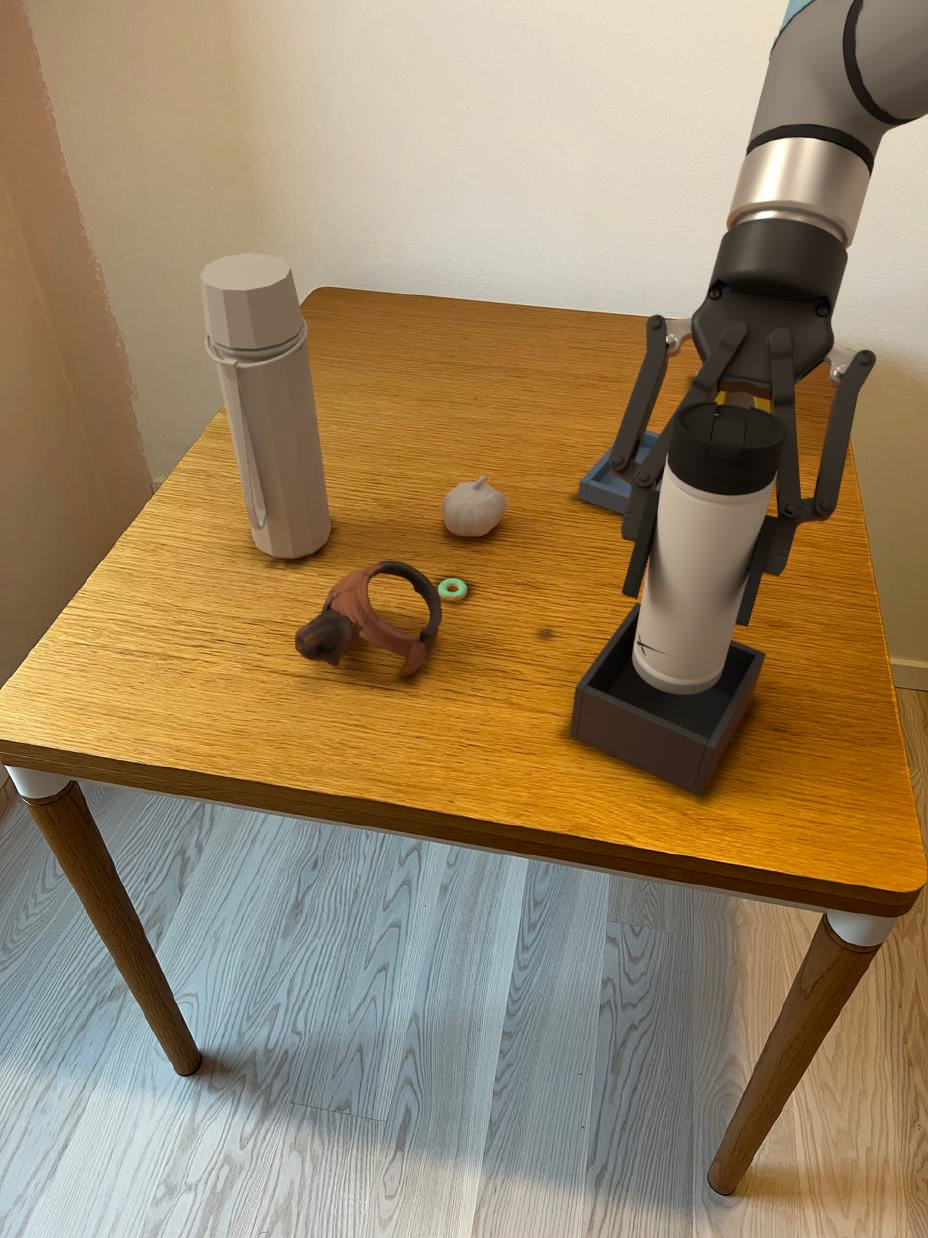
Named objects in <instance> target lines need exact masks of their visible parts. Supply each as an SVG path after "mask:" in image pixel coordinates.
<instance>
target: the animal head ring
mask: <svg viewBox="0 0 928 1238" xmlns="http://www.w3.org/2000/svg"><path fill="white" fill-rule="evenodd" d="M378 575H391V576H396V577H399V578H402V579H403V580H404V579H405V580H406V581H408V582H409V583H410V584H411V585H412V587H413V591H414V592H415V593H417V594H418V595H420V596H421V598H422V599H423V600H424V602H425V604H426V605H427V608H428V611H429V617H428V618H429V619H428V623H427V624H426V626H424V627H423V628H421V629H420V631H419V635H418V638H417V639H414V637H413V634H412V632H411V631H408V630H404V629H401V628H396V627H394V626H393V625H390V624H389V623H388V622H387V621H385V620H384V619H383V618H382V617H381V616H380V615H379V614H378V613H377V612H376V611H375V610H374V608H373V606H372V603H371V601H370V597H369V583H370V581H371V580H372V578H373V577H375V576H378ZM442 620H443V608H442V602H441V597H440V595H439V594H438V590H437V588H436V587H435V586H434V584H433V583H432V581H431V580H430V579H429V577H427V576H426V575H425V574H424V573H422V571H420V570H418V569H417V568H416V567H413V566H412V565H411V564H408V563H405V562H404V561H400V560H399V561H398V560H392V559H390V560H389V559H388V560H381V561H379V562H376V563H373V564H370V565H369V566H368V567H367V568H361V569H356V570H353V571H351V572H349V573H347V574H346V575H345V576H344V575H343V577H341V579H339V580H338V581H337V582H336V583H335V584H334V585H333V586H332V587H331V589H330V590H329V591H328V595H327V596H326V598H325V600H324V603H323V606H322V609H321V611H320V614H318V615H316V616H315V618H313V619H311V620H310V621H309V622H308V623H306V624H305V625H302V626H301V627H300V628H298V629H297V631H296V632H295V634H294V646H295V647H294V648H295V650H296V652H298V653H299V654H300V655H301V657H302V658H304V659H306V660H309V661H315V662H316V661H318V662H320V661H323V662H324V663H326V664H328V665H329V666H331V667H335V668H336V667H338V666H339V665H340V660H341V657H342V655H343V654H344V652H345V651H346V650H347V649H348V648H349V647H350V645H352V641H353V638H354V634H355V626H354V625H357V626H358V627H360V628H361V629H360V631H359V633H358V636H359V637H360V638H361V639H363V640H365V641H367V642H369V643H370V644H373V645H374V646H376V647H378V648H381V649H383V650H387V651H388V652H389V653H392V654H396V655H399V656H404V657H405V658H404V663H403V665H402V667H401V668H400V670H399V674H400V675H401V677H406V676H409V675H412V674H414V673H416V672H417V670H418V669H419V668H420V667H421V666H422V665H423V662H424V661H425V660H427V659H428V658H429V657H430V656H431V654H432V651H433V649H434V647H435V644H436V641H437V639H438V635H439V627H440V626H441V623H442Z"/></svg>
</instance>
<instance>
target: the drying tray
mask: <svg viewBox="0 0 928 1238" xmlns="http://www.w3.org/2000/svg"><path fill="white" fill-rule="evenodd" d="M660 434H661V433H658V432H656V431H652V430H648V429H646V431H645V434H644V437H643V440H642V442H641V445H640V448H639V451H638V454H637V456H636V459H635V461H636V462H638V463H639V464H641V463H642V461H643V460H644V458H645V457H646V455H647V454H648V452H649V451H650V449H651V448H652V446H653V445H654V443H655V441H656V440H657V438H658V437H659V435H660ZM613 445H614V443H613V444H612V445H611V446H610V447H609V449H607V450H606V451H605V453H604V454H603V455H602V456H601V457H600V459H598V460H597V461H596V462H595V464H594V465H593V466H592V467H591V468H590V469H589V471H587V473H586V474H585V475H584V476H583V477H582V478H581V479H580V480H579V487H578V496H577V498H578V500H581V501H584V502H586V503H588V504H589V503H590V504H593V505H595V506H598V507H601V508H603V509H607V510H608V511H612V512H614V513H618V514H620V515H623V516H624V515H625V511H626V508H627V504H628V500H629V497H630V493H631V485H630V484H629V483H628V482H626V481H624V480H623V479H621V478H619V477H617V476H616V475H615V474H614V473H613V471H612V469H611V467H610V465H609V462H608V461H609V456H610V453H611V450H612V448H613ZM662 480H663V478H662ZM662 480H661V481H660V483H659V484H658V486H657V487H656V489H655V490H656V491H661V486H662Z"/></svg>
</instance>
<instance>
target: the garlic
mask: <svg viewBox="0 0 928 1238" xmlns="http://www.w3.org/2000/svg"><path fill="white" fill-rule="evenodd" d="M488 479H489V477H488V476H487V474H484V475H482V476H480V477H479V479H478V480H476V481H463V482H459V483H458V484H457V485H456V486H455V487H454V488H452V489H451V490H450V491H449V492H448V493H447V494H446V495H445V497H444V498H443V501H442V504H441V505H442V506H441V509H442V513H443V521H444V525H445V527H446V529H447V530H448V531H449V532H450V533H452V534H454V535H456V536H459V537H482V536H484V535H486V534H488V533H489V532H491V531H492V529H494V528H495V527H496V526H497V525H498V524H499V522H500V521H501V520H502V519H503V518H504V516H505V514H506V512H507V507H508V504H507V503H508V502H507V498H506V496H505V495H504V493H502V491H500V490H497V489H496V488H494V487H492V486H491V485H490V484H488V483H485V482H487V481H488Z"/></svg>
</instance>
